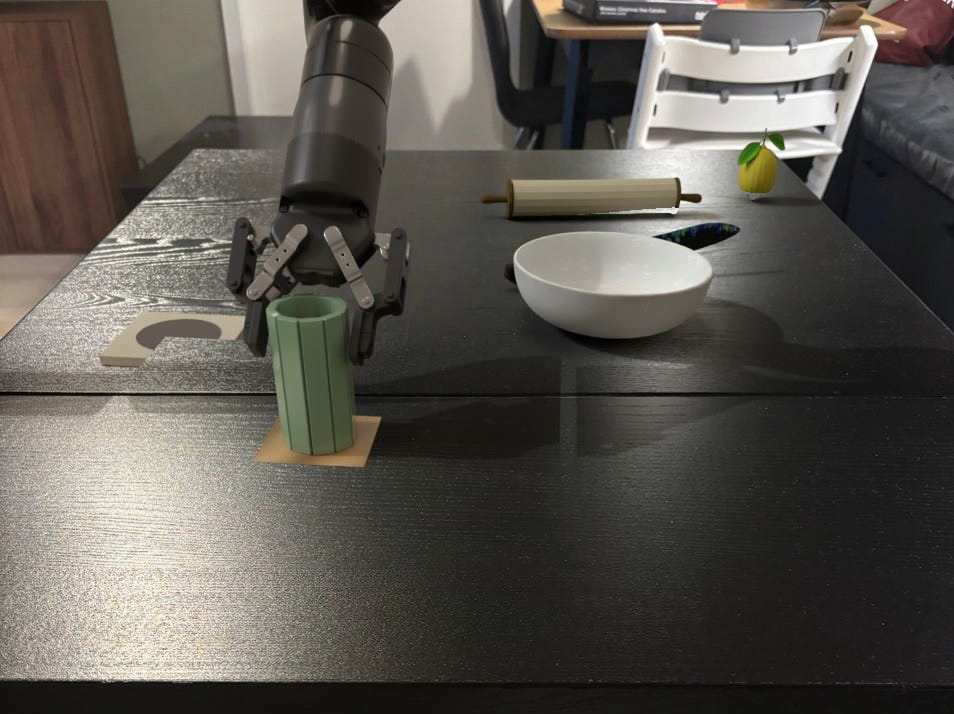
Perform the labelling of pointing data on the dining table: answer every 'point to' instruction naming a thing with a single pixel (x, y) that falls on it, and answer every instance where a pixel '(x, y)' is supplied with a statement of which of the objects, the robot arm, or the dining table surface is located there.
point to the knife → (678, 239)
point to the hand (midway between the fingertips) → (305, 357)
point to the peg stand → (348, 457)
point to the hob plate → (167, 334)
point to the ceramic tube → (313, 372)
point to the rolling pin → (589, 196)
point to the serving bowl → (611, 282)
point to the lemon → (759, 165)
